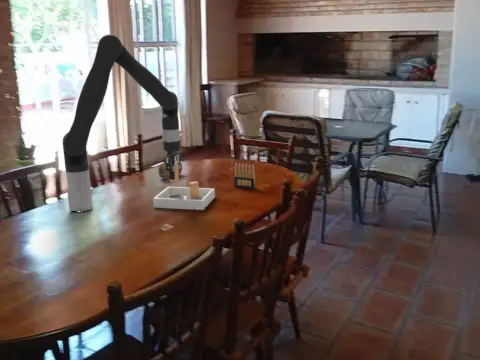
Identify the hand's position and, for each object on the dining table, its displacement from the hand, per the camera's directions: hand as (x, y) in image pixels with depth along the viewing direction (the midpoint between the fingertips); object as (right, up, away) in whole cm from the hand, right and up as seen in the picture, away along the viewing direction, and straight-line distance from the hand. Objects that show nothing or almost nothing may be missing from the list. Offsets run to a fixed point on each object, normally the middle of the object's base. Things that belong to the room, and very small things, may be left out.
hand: (174, 177), depth 236 cm
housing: (+5, -11, +2) cm, 12 cm away
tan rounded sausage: (0, -1, 0) cm, 1 cm away
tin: (-7, 0, +43) cm, 44 cm away
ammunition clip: (+31, -5, +21) cm, 38 cm away
